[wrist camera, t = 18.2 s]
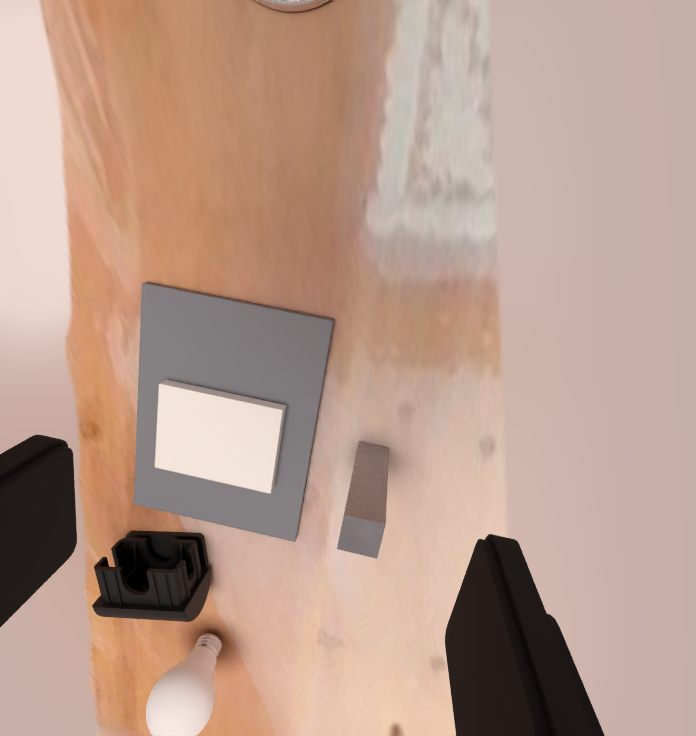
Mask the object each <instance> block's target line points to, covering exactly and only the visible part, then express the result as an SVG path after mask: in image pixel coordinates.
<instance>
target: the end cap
mask: <svg viewBox="0 0 696 736" xmlns="http://www.w3.org/2000/svg"><path fill="white" fill-rule="evenodd" d="M111 549H112V554H113V558H114V562H115V566H116V567H109V564H108V560H107V557H103V558H102V559H101V560H100V561H99V562H98V563H97V564H96V565H95V566H94V569H95V573H96V577H97V581H98V584H99V588H100V592H101V596H100V597H99V598H98V599H97V600H96V602H95V603H94V604H93V605H92V606H93V609H94V611H95V612H96V614H97V615H99V616H102V617H117V618H134V619H150V620H167V621H184V622H190V621H193V620H194V619H195V618H196V617H197V616H198V615H199V614H200V612H201V610H202V608H203V606H204V604H205V601H206V598H207V595H208V590H209V584H210V568H209V567H208V558H207V552H206V546H205V540H204V536H203V535H202V534H201V533H184V532H152V531H131V532H130V533H129V534H128V535H127V536H126V538H123V539H121V540H119V541H118V542H117V543H116V544H115V545H114V546H113V547H112V548H111Z"/></svg>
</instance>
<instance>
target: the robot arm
mask: <svg viewBox="0 0 696 736" xmlns="http://www.w3.org/2000/svg"><path fill="white" fill-rule="evenodd" d="M255 1H256V2H258V3H260V4H263V5H265V6H267V7H269V8H272V9H276V10H281V11H304V10H308V9H312V8H316V7H318V6H320V5H322V4H324V3H326V2H328V1H330V0H255ZM75 511H76V510H75V488H74V465H73V452H72V450H71V449H70V448H68V445H67V443H66V441H64V440H61V439H56V438H52V437H48V436H43V435H35V436H32V437H30V438H28V439H26V440H25V441H23V442H21V443H20V444H18V445H16V446H14V447H12V448H11V449H9V450H7V451H5V452H4V453H2V454H0V627H1V626H2V625H3V624H4V623H5V622H6V621H7V620H8V619H9V618H10V617H11V616H12V615H13V614H14V613H15V612H16V611H17V610H18V609H19V608H20V607H21V606H22V605H23V604H24V603H25V602H26V601H27V600H28V599H29V598H30V597H31V596H32V595H33V594H34V593H35V592H36V591H37V590H38V589H39V588H40V587H41V586H42V585H43V584H44V582H46V581H47V580H48V579H49V578H50V577H51V575H52V574H54V573H55V572H56V571H57V570H58V569H59V568H60V567H61V566H62V565H63V564H64V563H65V562H66V561H67V559H68V558H69V557H70V556H71V555H72V553H73V552H74V549H75V547H76V544H77V533H76V512H75ZM445 647H446V655H447V663H448V671H449V680H450V688H451V696H452V704H453V712H454V720H455V729H456V736H604V733H603V731H602V728H601V726H600V724H599V721H598V719H597V717H596V714H595V712H594V709H593V707H592V704H591V702H590V700H589V697H588V695H587V692H586V691H585V688H584V685H583V683H582V680H581V678H580V676H579V673H578V671H577V668H576V666H575V664H574V661H573V659H572V656H571V654H570V651H569V649H568V647H567V645H566V642H565V640H564V637H563V635H562V632H561V630H560V627H559V626H558V624H557V622H556V620H555V619H554V618H553V617H552V616H551V615H549V614H547V613H546V611H545V609H544V606H543V603H542V601H541V598H540V596H539V593H538V591H537V588H536V586H535V583H534V581H533V578H532V576H531V573H530V571H529V568H528V566H527V563H526V561H525V558H524V556H523V553H522V550H521V548H520V546H519V543H518V542H517V541H516V540H514V539H510V538H505V537H501V536H496V535H492V534H490V535H488V536H487V537H486V539H485V540H482V539H479V540H478V541H477V543H476V545H475V548H474V551H473V554H472V557H471V560H470V563H469V565H468V568H467V571H466V574H465V577H464V580H463V582H462V585H461V588H460V591H459V594H458V597H457V599H456V602H455V605H454V608H453V611H452V614H451V616H450V619H449V622H448V625H447V628H446V635H445Z"/></svg>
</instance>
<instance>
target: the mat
mask: <svg viewBox="0 0 696 736" xmlns="http://www.w3.org/2000/svg"><path fill="white" fill-rule="evenodd" d="M333 325H334V319H329V318H324V317H319V316H314V315H309V314H304V313H299V312H294V311H289V310H284V309H279V308H274V307H269V306H264V305H259V304H254V303H249V302H244V301H239V300H234V299H229V298H224V297H219V296H214V295H209V294H204V293H199V292H194V291H189V290H184V289H179V288H174V287H169V286H164V285H159V284H154V283H149V282H147V283H142V298H141V326H140V354H139V382H138V410H137V437H136V465H135V493H134V504H135V505H139V506H144V507H148V508H152V509H157V510H161V511H165V512H169V513H174V514H178V515H182V516H186V517H191V518H195V519H199V520H204V521H208V522H212V523H216V524H221V525H225V526H229V527H233V528H238V529H242V530H246V531H251V532H255V533H259V534H263V535H268V536H272V537H276V538H281V539H285V540H289V541H293V542H295V540H296V538H297V534H298V528H299V522H300V516H301V510H302V505H303V499H304V493H305V487H306V481H307V476H308V470H309V464H310V458H311V453H312V447H313V441H314V435H315V429H316V424H317V418H318V412H319V406H320V400H321V395H322V389H323V383H324V377H325V371H326V366H327V360H328V354H329V348H330V342H331V337H332V331H333ZM165 380H171V381H175V382H180V383H185V384H189V385H194V386H199V387H203V388H208V389H213V390H217V391H222V392H227V393H231V394H236V395H241V396H245V397H250V398H255V399H259V400H264V401H269V402H273V403H278V404H283V405H286V410H285V417H284V424H283V431H282V437H281V444H280V451H279V458H278V465H277V471H276V478H275V485H274V488H273V490H272V492H271V494H270V493H265V492H261V491H256V490H252V489H248V488H243V487H239V486H235V485H230V484H226V483H221V482H217V481H213V480H208V479H204V478H199V477H195V476H191V475H186V474H182V473H177V472H173V471H169V470H164V469H160V468H155V452H156V432H157V413H158V393H159V383H161V382H163V381H165Z"/></svg>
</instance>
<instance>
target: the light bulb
mask: <svg viewBox="0 0 696 736" xmlns="http://www.w3.org/2000/svg"><path fill="white" fill-rule="evenodd" d="M221 648H222V644H221V640H220V639H219V637H218V636H216V635H215V634H212V633H205V634H203V635H202V636H200V637H199V639H198V640H197V642H196V645H195V646H194V648H193V649H192V650H191V651H190V652H189V654H188V655H187V657H186V658H185V659H184V660H183V661H182V662H180V663H179V664H178V665H176V666H175V667H173V668H171V669H170V670H168V671H167V672H166V673H165V674H164V675H163V676H162V677H161V678H160V679H159V680H158V681H157V683H156V684H155V686H154V687H153V689H152V691H151V693H150V696H149V699H148V703H147V707H146V720H147V725H148V728H149V730H150V732H151V734H152V736H196V735H198V734H199V733H200V732H201V731H202V729H203V728H204V727H205V725H206V724H207V722H208V720H209V718H210V716H211V714H212V711H213V707H214V703H215V686H214V669H215V666H216V662H217V659H216V658H217V656H218V655H219V652H220V650H221Z"/></svg>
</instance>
